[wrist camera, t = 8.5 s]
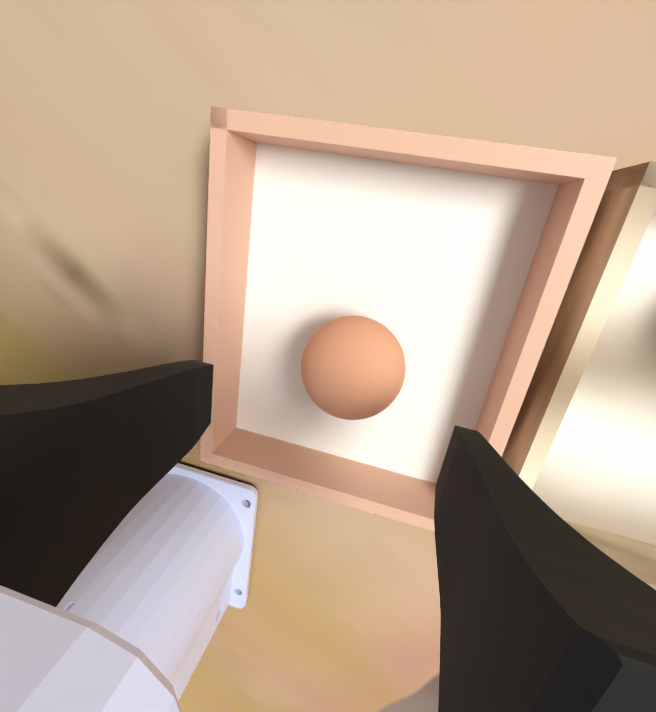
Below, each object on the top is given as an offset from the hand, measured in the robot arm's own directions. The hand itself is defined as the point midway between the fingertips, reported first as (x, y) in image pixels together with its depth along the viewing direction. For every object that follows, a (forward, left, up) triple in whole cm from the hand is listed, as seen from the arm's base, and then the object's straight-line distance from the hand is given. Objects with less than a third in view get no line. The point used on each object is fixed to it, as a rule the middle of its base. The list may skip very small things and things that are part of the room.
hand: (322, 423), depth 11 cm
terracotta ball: (0, 0, -4) cm, 4 cm away
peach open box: (+1, 0, -7) cm, 7 cm away
